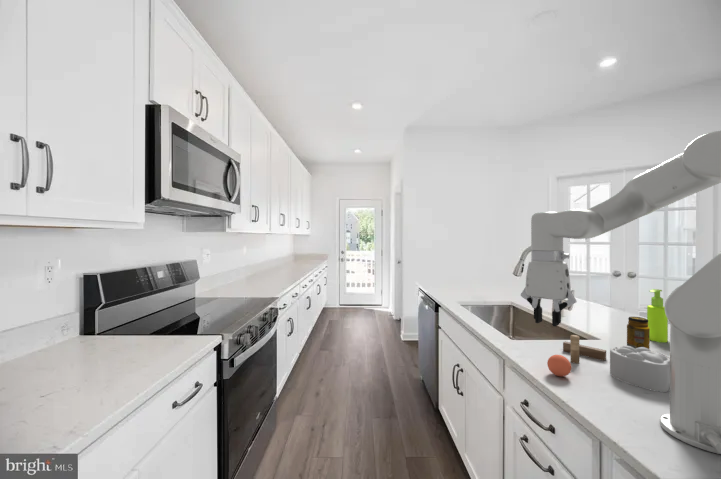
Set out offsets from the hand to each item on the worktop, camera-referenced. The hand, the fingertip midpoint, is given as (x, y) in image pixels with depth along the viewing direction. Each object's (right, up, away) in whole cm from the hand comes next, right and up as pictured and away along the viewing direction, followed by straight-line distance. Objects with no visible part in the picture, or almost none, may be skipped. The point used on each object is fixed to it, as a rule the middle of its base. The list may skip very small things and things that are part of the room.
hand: (547, 323), depth 86 cm
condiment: (+46, -17, +25) cm, 55 cm away
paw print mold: (+28, -17, +3) cm, 33 cm away
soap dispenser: (+65, -17, +37) cm, 77 cm away
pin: (+19, -17, +16) cm, 30 cm away
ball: (+7, -14, +6) cm, 17 cm away
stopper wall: (+26, -17, +22) cm, 38 cm away
